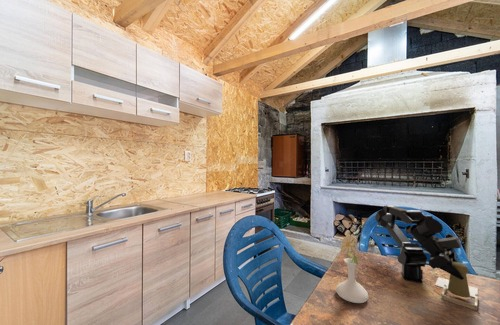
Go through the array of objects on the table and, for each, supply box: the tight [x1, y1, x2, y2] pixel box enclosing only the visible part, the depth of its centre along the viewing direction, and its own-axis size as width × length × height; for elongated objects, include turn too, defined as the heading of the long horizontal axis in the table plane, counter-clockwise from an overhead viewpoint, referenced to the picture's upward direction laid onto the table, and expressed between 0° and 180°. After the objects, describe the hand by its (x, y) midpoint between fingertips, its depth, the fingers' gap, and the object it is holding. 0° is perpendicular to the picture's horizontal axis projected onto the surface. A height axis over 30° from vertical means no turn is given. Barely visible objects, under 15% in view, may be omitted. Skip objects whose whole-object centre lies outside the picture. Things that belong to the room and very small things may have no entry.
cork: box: [447, 261, 471, 298], centre depth 80 cm, size 6×6×11 cm
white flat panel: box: [434, 276, 479, 299], centre depth 87 cm, size 9×12×1 cm
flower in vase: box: [335, 233, 369, 304], centre depth 81 cm, size 13×11×25 cm
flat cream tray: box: [440, 285, 479, 311], centre depth 79 cm, size 9×9×2 cm
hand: (463, 276), depth 78 cm, fingers closed on cork, 5 cm apart
